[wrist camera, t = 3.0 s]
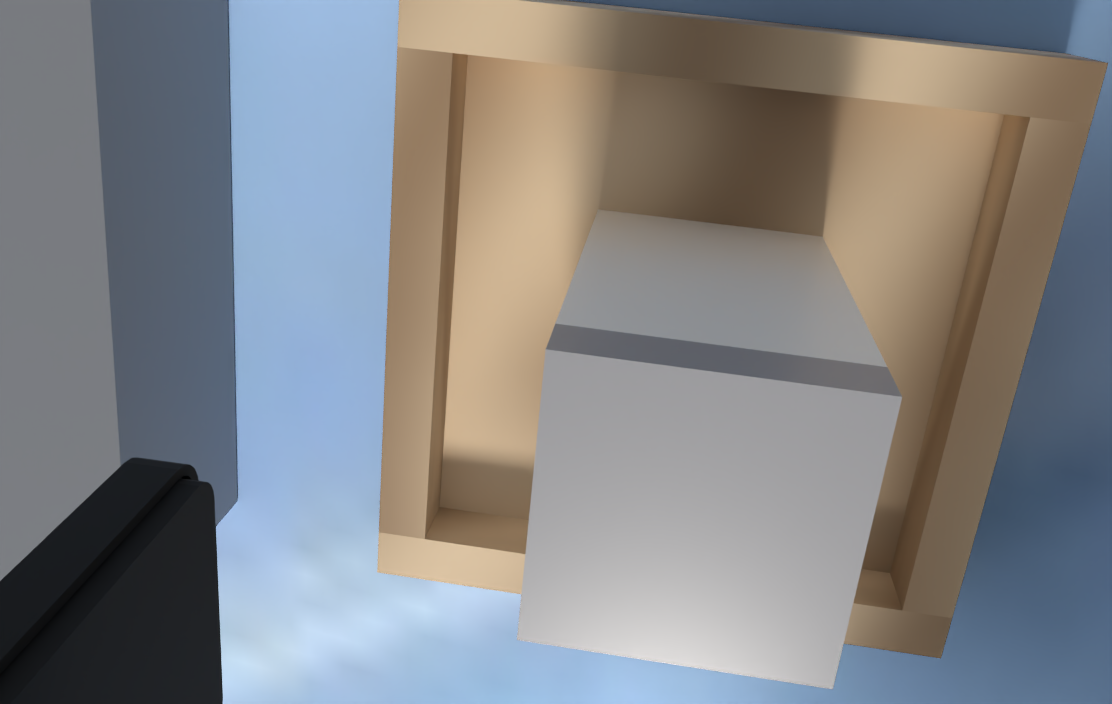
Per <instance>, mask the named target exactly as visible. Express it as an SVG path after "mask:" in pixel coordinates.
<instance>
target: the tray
mask: <svg viewBox="0 0 1112 704" xmlns="http://www.w3.org/2000/svg"><path fill="white" fill-rule="evenodd" d="M1107 65H1108V63H1106V62H1101V61H1097V60H1093V59H1088V58H1084V57H1079V56H1075V55H1071V54H1066V53H1056V52H1047V51H1038V50H1028V49H1019V48H1009V47H1000V46H990V45H981V44H972V43H962V42H953V41H943V40H934V39H925V38H915V37H906V36H896V35H887V34H877V33H868V32H859V31H849V30H840V29H830V28H821V27H812V26H802V25H793V24H783V23H774V22H764V21H755V20H746V19H736V18H727V17H717V16H708V15H699V14H689V13H680V12H670V11H661V10H651V9H642V8H633V7H623V6H614V5H604V4H595V3H586V2H576V1H567V0H399V21H398V47H397V73H396V100H395V126H394V152H393V178H392V204H391V230H390V257H389V283H388V309H387V335H386V361H385V387H384V414H383V440H382V466H381V492H380V518H379V544H378V571H377V572H379V573H386V574H392V575H399V576H405V577H412V578H419V579H425V580H432V581H438V582H445V583H451V584H458V585H464V586H471V587H477V588H484V589H491V590H497V591H504V592H510V593H517V594H522V584H523V574H524V563H525V553H526V543H527V533H528V523H529V513H530V503H531V492H532V482H533V472H534V462H535V452H536V442H537V432H538V421H539V411H540V401H541V391H542V381H543V371H544V361H545V351H546V347H547V344H548V342H549V339H550V336H551V334H552V331H553V328H554V326H555V323H556V320H557V318H558V315H559V312H560V310H561V307H562V304H563V302H564V299H565V296H566V294H567V291H568V288H569V286H570V283H571V280H572V278H573V275H574V272H575V270H576V267H577V264H578V262H579V259H580V256H581V254H582V251H583V248H584V246H585V243H586V240H587V238H588V235H589V232H590V230H591V227H592V224H593V222H594V219H595V216H596V214H597V211H598V209H600V210H609V211H617V212H625V213H633V214H641V215H649V216H658V217H666V218H674V219H682V220H690V221H699V222H707V223H715V224H723V225H731V226H740V227H748V228H756V229H764V230H772V231H781V232H789V233H797V234H805V235H813V236H821V237H823V238H824V240H825V242H826V244H827V246H828V248H829V250H830V252H831V254H832V256H833V258H834V260H835V262H836V264H837V266H838V268H839V270H840V273H841V275H842V277H843V279H844V281H845V283H846V285H847V287H848V289H849V291H850V293H851V295H852V297H853V299H854V301H855V303H856V305H857V307H858V309H859V311H860V313H861V315H862V317H863V319H864V321H865V323H866V325H867V327H868V329H869V331H870V333H871V335H872V337H873V339H874V341H875V343H876V345H877V347H878V349H879V351H880V353H881V355H882V357H883V359H884V361H885V363H886V365H887V367H888V369H889V371H890V373H891V375H892V377H893V379H894V381H895V383H896V385H897V387H898V389H899V391H900V393H901V395H902V400H901V404H900V409H899V413H898V417H897V421H896V425H895V430H894V434H893V438H892V442H891V447H890V451H889V455H888V459H887V463H886V468H885V472H884V476H883V480H882V484H881V489H880V493H879V497H878V501H877V505H876V510H875V514H874V518H873V522H872V526H871V531H870V535H869V539H868V543H867V547H866V552H865V556H864V560H863V564H862V568H861V573H860V577H859V581H858V585H857V589H856V594H855V598H854V602H853V606H852V610H851V615H850V619H849V623H848V627H847V631H846V636H845V640H844V644H850V645H857V646H864V647H870V648H877V649H883V650H890V651H896V652H903V653H909V654H916V655H922V656H929V657H936V658H941V656H942V652H943V649H944V645H945V642H946V638H947V635H948V631H949V628H950V624H951V620H952V617H953V613H954V610H955V606H956V603H957V599H958V596H959V592H960V588H961V585H962V581H963V578H964V574H965V571H966V567H967V564H968V560H969V556H970V553H971V549H972V546H973V542H974V539H975V535H976V532H977V528H978V524H979V521H980V517H981V514H982V510H983V507H984V503H985V500H986V496H987V492H988V489H989V485H990V482H991V478H992V475H993V471H994V467H995V464H996V460H997V457H998V453H999V450H1000V446H1001V443H1002V439H1003V435H1004V432H1005V428H1006V425H1007V421H1008V418H1009V414H1010V411H1011V407H1012V403H1013V400H1014V396H1015V393H1016V389H1017V386H1018V382H1019V379H1020V375H1021V371H1022V368H1023V364H1024V361H1025V357H1026V354H1027V350H1028V347H1029V343H1030V339H1031V336H1032V332H1033V329H1034V325H1035V322H1036V318H1037V315H1038V311H1039V307H1040V304H1041V300H1042V297H1043V293H1044V290H1045V286H1046V282H1047V279H1048V275H1049V272H1050V268H1051V265H1052V261H1053V258H1054V254H1055V250H1056V247H1057V243H1058V240H1059V236H1060V233H1061V229H1062V226H1063V222H1064V218H1065V215H1066V211H1067V208H1068V204H1069V201H1070V197H1071V194H1072V190H1073V186H1074V183H1075V179H1076V176H1077V172H1078V169H1079V165H1080V162H1081V158H1082V154H1083V151H1084V147H1085V144H1086V140H1087V137H1088V133H1089V130H1090V126H1091V122H1092V119H1093V115H1094V112H1095V108H1096V105H1097V101H1098V97H1099V94H1100V90H1101V87H1102V83H1103V80H1104V76H1105V73H1106V69H1107Z"/></svg>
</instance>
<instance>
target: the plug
mask: <svg viewBox="0 0 1112 704" xmlns="http://www.w3.org/2000/svg"><path fill="white" fill-rule="evenodd" d="M901 400H902V395H901V393H900V391H899V389H898V387H897V385H896V383H895V381H894V379H893V377H892V375H891V373H890V371H889V369H888V367H887V365H886V363H885V361H884V359H883V357H882V355H881V353H880V351H879V349H878V347H877V345H876V343H875V341H874V339H873V337H872V335H871V333H870V331H869V329H868V327H867V325H866V323H865V321H864V319H863V317H862V315H861V313H860V311H859V309H858V307H857V305H856V303H855V301H854V299H853V297H852V295H851V293H850V291H849V289H848V287H847V285H846V283H845V281H844V279H843V277H842V275H841V273H840V270H839V268H838V266H837V264H836V262H835V260H834V258H833V256H832V254H831V252H830V250H829V248H828V246H827V244H826V242H825V240H824V238H823V237H821V236H813V235H805V234H797V233H789V232H781V231H772V230H764V229H756V228H748V227H740V226H731V225H723V224H715V223H707V222H699V221H690V220H682V219H674V218H666V217H658V216H649V215H641V214H633V213H625V212H617V211H609V210H600V209H598V211H597V214H596V216H595V219H594V222H593V224H592V227H591V230H590V232H589V235H588V238H587V240H586V243H585V246H584V248H583V251H582V254H581V256H580V259H579V262H578V264H577V267H576V270H575V272H574V275H573V278H572V280H571V283H570V286H569V288H568V291H567V294H566V296H565V299H564V302H563V304H562V307H561V310H560V312H559V315H558V318H557V320H556V323H555V326H554V328H553V331H552V334H551V336H550V339H549V342H548V344H547V347H546V351H545V361H544V371H543V381H542V391H541V401H540V411H539V421H538V432H537V442H536V452H535V462H534V472H533V482H532V492H531V503H530V513H529V523H528V533H527V543H526V553H525V563H524V574H523V584H522V594H521V604H520V614H519V624H518V634H517V640H521V641H527V642H533V643H540V644H546V645H553V646H559V647H565V648H572V649H578V650H585V651H591V652H597V653H604V654H610V655H616V656H623V657H629V658H636V659H642V660H648V661H655V662H661V663H668V664H674V665H680V666H687V667H693V668H700V669H706V670H712V671H719V672H725V673H732V674H738V675H744V676H751V677H757V678H764V679H770V680H776V681H783V682H789V683H795V684H802V685H808V686H815V687H821V688H827V689H833V686H834V682H835V678H836V673H837V669H838V665H839V661H840V657H841V652H842V648H843V644H844V640H845V636H846V631H847V627H848V623H849V619H850V615H851V610H852V606H853V602H854V598H855V594H856V589H857V585H858V581H859V577H860V573H861V568H862V564H863V560H864V556H865V552H866V547H867V543H868V539H869V535H870V531H871V526H872V522H873V518H874V514H875V510H876V505H877V501H878V497H879V493H880V489H881V484H882V480H883V476H884V472H885V468H886V463H887V459H888V455H889V451H890V447H891V442H892V438H893V434H894V430H895V425H896V421H897V417H898V413H899V409H900V404H901Z"/></svg>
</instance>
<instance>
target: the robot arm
mask: <svg viewBox="0 0 1112 704" xmlns="http://www.w3.org/2000/svg"><path fill="white" fill-rule="evenodd" d="M222 700H223V693H222V669H221V644H220V620H219V596H218V571H217V547H216V523H215V498H214V490H213V488H212V485H211V484H210V483H208V482H204V481H199V480H198V475H197V472H196V470H195V468H194V467H193V466H191V465H189V464H182V463H175V462H168V461H160V460H153V459H146V458H139V457H136V458H130V459H129V460H127V461H126V462H124V463H123V464H122V465H121V466H120V467H119V468H118V469H117V470H116V471H115V472H114V473H113V474H112V475H111V476H110V477H109V478H108V479H107V480H106V481H105V482H103V483H102V484H101V485H100V486H99V487H98V488H97V489H96V490H95V491H94V492H93V493H92V494H91V495H90V496H89V497H88V498H87V499H86V500H85V501H84V502H83V503H81V504H80V505H79V506H78V507H77V508H76V509H75V510H74V511H73V512H72V513H71V514H70V515H69V516H68V517H67V518H66V519H65V520H64V521H63V522H62V523H60V524H59V525H58V526H57V527H56V528H55V529H54V530H53V531H52V532H51V533H50V534H49V535H48V536H47V537H46V538H45V539H44V540H43V541H42V542H41V543H40V544H38V545H37V546H36V547H35V548H34V549H33V550H32V551H31V552H30V553H29V554H28V555H27V556H26V557H25V558H24V559H23V560H22V561H21V562H20V563H19V564H17V565H16V566H15V567H14V568H13V569H12V570H11V571H10V572H9V573H8V574H7V575H6V576H5V577H4V578H3V579H2V580H1V581H0V704H222Z"/></svg>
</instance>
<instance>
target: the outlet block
mask: <svg viewBox="0 0 1112 704" xmlns="http://www.w3.org/2000/svg"><path fill="white" fill-rule="evenodd" d="M136 457H139V458H146V459H153V460H160V461H168V462H175V463H182V464H189V465H191V466H193V467H194V468H195V470H196V472H197V475H198V480H199V481H204V482H208V483H210V484H211V485H212V488H213V490H214V498H215V523H216V526H217V525H218V523H219V522H220V521H221V520H222V519H223V517H224V516H225V515H226V514H227V513H228V512H229V510H230V509H231V508H232V507H233V506H234V504H235V503H236V502H237V455H236V403H235V351H234V298H233V246H232V194H231V141H230V89H229V37H228V0H0V581H1V580H2V579H3V578H4V577H5V576H6V575H7V574H8V573H9V572H10V571H11V570H12V569H13V568H14V567H15V566H16V565H17V564H19V563H20V562H21V561H22V560H23V559H24V558H25V557H26V556H27V555H28V554H29V553H30V552H31V551H32V550H33V549H34V548H35V547H36V546H37V545H38V544H40V543H41V542H42V541H43V540H44V539H45V538H46V537H47V536H48V535H49V534H50V533H51V532H52V531H53V530H54V529H55V528H56V527H57V526H58V525H59V524H60V523H62V522H63V521H64V520H65V519H66V518H67V517H68V516H69V515H70V514H71V513H72V512H73V511H74V510H75V509H76V508H77V507H78V506H79V505H80V504H81V503H83V502H84V501H85V500H86V499H87V498H88V497H89V496H90V495H91V494H92V493H93V492H94V491H95V490H96V489H97V488H98V487H99V486H100V485H101V484H102V483H103V482H105V481H106V480H107V479H108V478H109V477H110V476H111V475H112V474H113V473H114V472H115V471H116V470H117V469H118V468H119V467H120V466H121V465H122V464H123V463H124V462H126V461H127V460H129V459H130V458H136Z"/></svg>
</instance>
